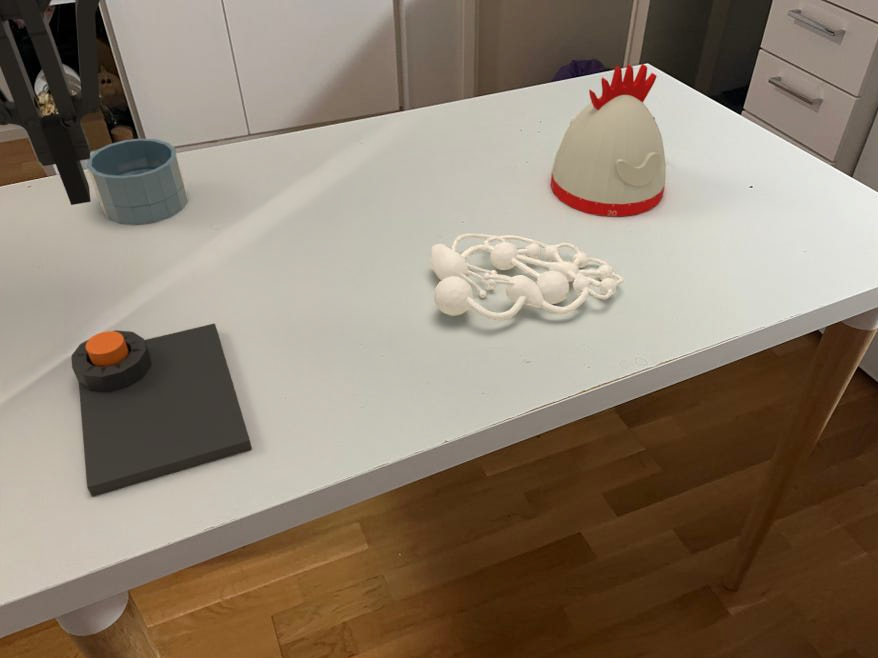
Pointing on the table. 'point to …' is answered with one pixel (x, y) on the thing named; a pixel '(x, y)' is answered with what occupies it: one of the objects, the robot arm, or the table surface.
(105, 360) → the tare button
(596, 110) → the kitchen timer
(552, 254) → the tangled rod sculpture
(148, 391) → the scale
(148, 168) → the bowl
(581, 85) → the table surface
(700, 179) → the table surface
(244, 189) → the table surface
